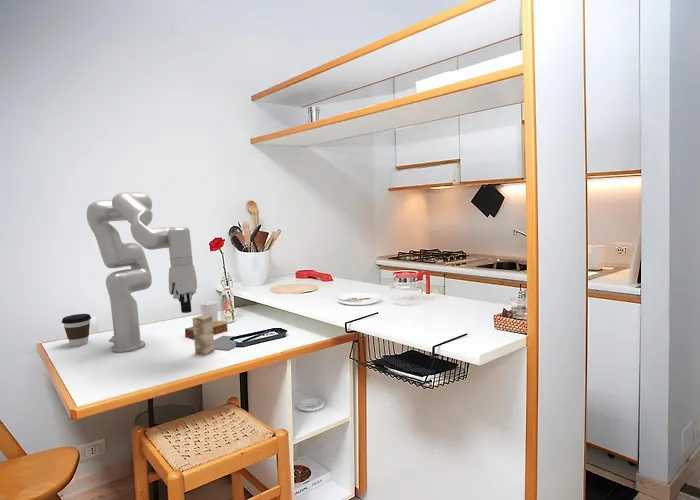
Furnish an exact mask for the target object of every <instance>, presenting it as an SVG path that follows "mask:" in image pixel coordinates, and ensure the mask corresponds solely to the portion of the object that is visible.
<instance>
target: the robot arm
mask: <svg viewBox="0 0 700 500" xmlns="http://www.w3.org/2000/svg"><path fill="white" fill-rule="evenodd" d="M152 207H153V202H152V199H151V197H150V196H149V194H147V193H145V192H137V191H136V192H120V193H117V194H115V195H114V196H113V197H112V199H103V200H96V201H93V202H91V203H90V204H89V205H88V207H87V209H86V219H87V224H88V226H89V228H90V230H91V232H92V233H93V235H94V237H95V240H96V242H97V246H98V249H99V252H100V255H101V259H102V262H103V264H104V266H105V267H106V268H108V269H119V268H120V269H121V268H125V269H121V270H117V271H113V272H111V273H110V274H108V275H107V277H106V278H105V287H106V291H107V294H108V296H109V302H110V311H111V317H112V327H113V328H112V329H113V335H112V336H111V338H110V339H108V342H109V343H112V346H111V347H110V350H111V352H115V353H127V352H132V351H136V350H139V349H142V348H144V347H146V341H144V340H141V329H140V319H139V310H138V302H137V300H136V299H135V298H134V296H133V295H132V294H131V293H135V292H140V291H145V290H147V289H149V288H150V287H151V285H152V282H153V279H152V278H153V277H152V272H151V270H150V266H149V262H148V260H147V257H146V254H145V251H144V249H146V250H149V251H150V250H151V251H152V250H154V251H155V250H161V249H168V251H169V261H170V267H169V269H168V291H169V294H170V295H172V298H173V299H174V300H175V299H176V300H178V302H179V303H180V310H181V313H182V314H189V313H192V300H193V298H192V297H193V295H195V294H196V293H197V289H198V281H197V274H196V270H195V266H194V265H195V264H194V263H193V260H194V259H193V253H192V252H193V251H192V249H193V248H192V241H191V239H192V238H191V233H190V232H191V231H190V229H189V227H186V226H183V227H182V226H181V227H180V226H179V227H175V226H168V227H155V228H149V227H148V226H149V225H150V224H151V223H152V220H153V213H152ZM121 221H122V222H123V221H127V222H128V223H129V224H130V232H131V235H132V238H133V240H134V241H135V242H128V243H124V242H122V238H121V236H120V233H119V231H118V230H117V229H116V228H115V227H114V226H113V225H112V224H110V222H121ZM143 248H144V249H143ZM127 267H130V268H129V269H127Z"/></svg>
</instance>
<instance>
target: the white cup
mask: <svg viewBox="0 0 700 500" xmlns="http://www.w3.org/2000/svg"><path fill="white" fill-rule="evenodd" d="M218 303H219V302H218V301H216V300H209V301H206V300H205V301H202V302H201V303H200V304H199V305H200V306H199V307H200V313H201V315H212V322H213V321H219V311H218V310H219V307H218Z"/></svg>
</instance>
